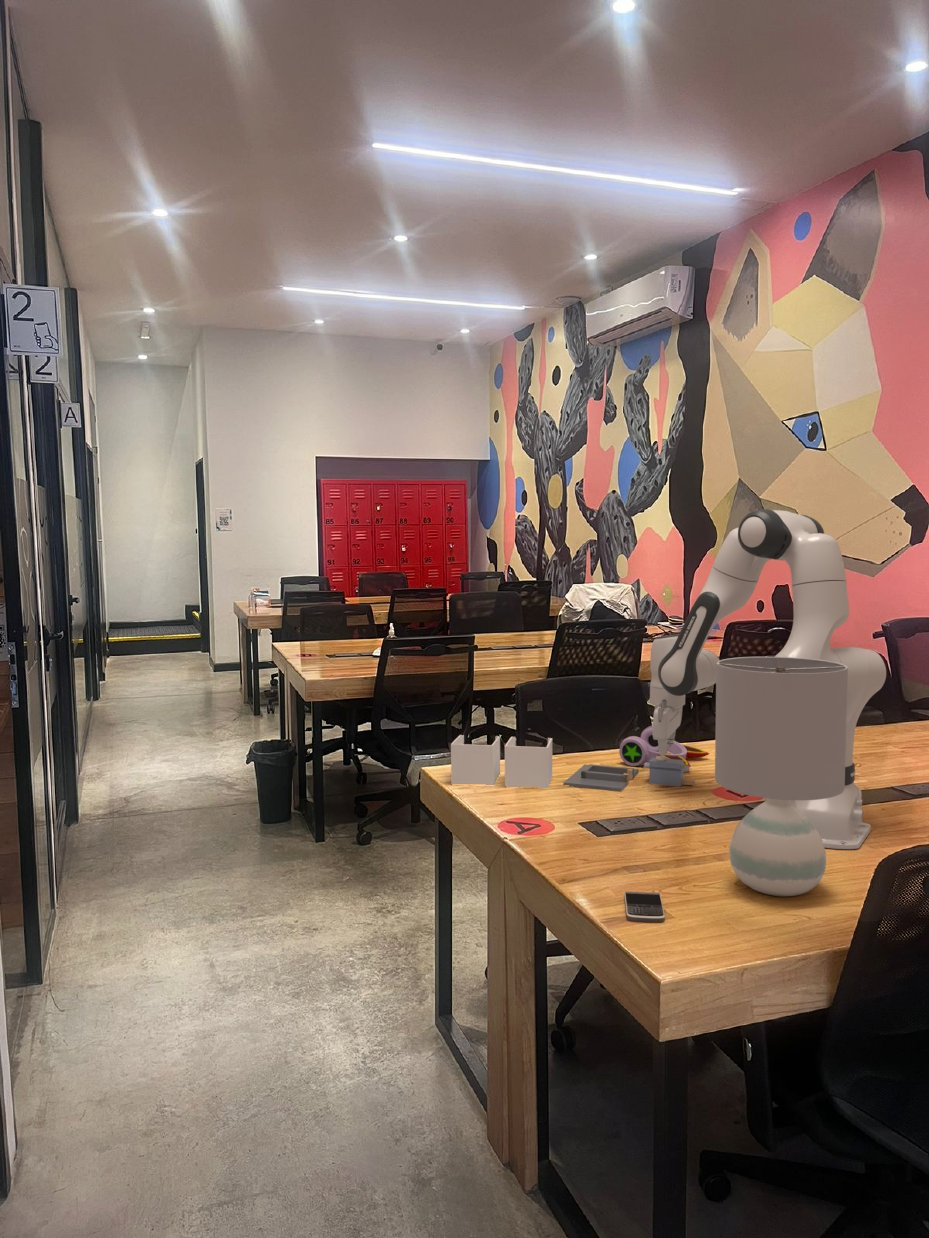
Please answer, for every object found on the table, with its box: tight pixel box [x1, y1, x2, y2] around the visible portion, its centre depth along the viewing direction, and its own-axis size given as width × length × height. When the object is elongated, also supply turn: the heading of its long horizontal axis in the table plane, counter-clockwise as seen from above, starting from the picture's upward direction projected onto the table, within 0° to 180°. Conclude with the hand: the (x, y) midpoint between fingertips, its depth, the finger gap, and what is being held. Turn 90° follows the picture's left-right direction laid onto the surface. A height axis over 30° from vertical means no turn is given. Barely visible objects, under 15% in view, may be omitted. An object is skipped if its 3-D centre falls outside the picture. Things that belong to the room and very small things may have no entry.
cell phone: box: [623, 891, 666, 923], centre depth 149 cm, size 6×11×1 cm, turn 172°
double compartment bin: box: [450, 734, 553, 789], centre depth 229 cm, size 25×11×11 cm, turn 78°
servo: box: [643, 756, 696, 787], centre depth 226 cm, size 4×12×7 cm, turn 67°
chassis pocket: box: [563, 763, 640, 792], centre depth 231 cm, size 20×15×2 cm
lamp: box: [714, 656, 848, 897], centre depth 155 cm, size 22×22×40 cm
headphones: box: [618, 725, 710, 767], centre depth 248 cm, size 20×10×20 cm
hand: (666, 750), depth 226 cm, fingers open, 8 cm apart
